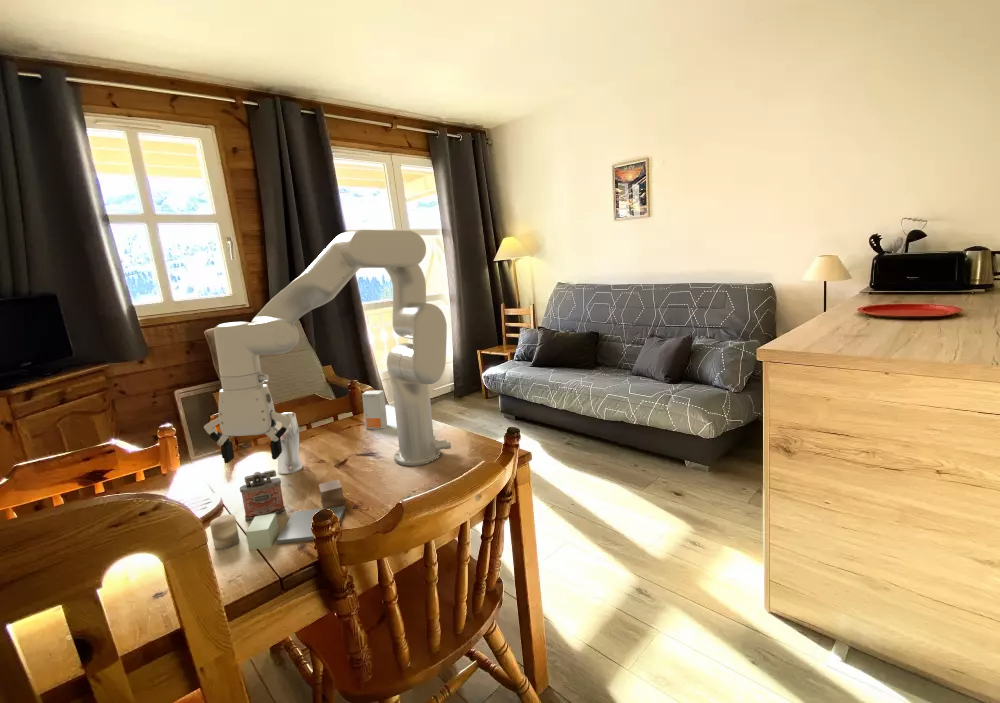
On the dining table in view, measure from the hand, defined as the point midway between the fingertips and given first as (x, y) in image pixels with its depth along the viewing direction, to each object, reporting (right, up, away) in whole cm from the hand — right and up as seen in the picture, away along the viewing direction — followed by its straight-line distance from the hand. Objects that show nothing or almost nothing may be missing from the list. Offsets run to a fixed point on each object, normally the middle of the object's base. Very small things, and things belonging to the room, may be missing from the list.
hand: (253, 458), depth 104 cm
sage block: (+8, -13, -7) cm, 16 cm away
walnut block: (+15, -12, +6) cm, 20 cm away
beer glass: (-3, -9, +26) cm, 28 cm away
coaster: (+14, -13, -3) cm, 20 cm away
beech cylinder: (-2, -15, -7) cm, 17 cm away
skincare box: (+13, -2, +55) cm, 57 cm away
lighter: (+1, -13, +3) cm, 14 cm away
